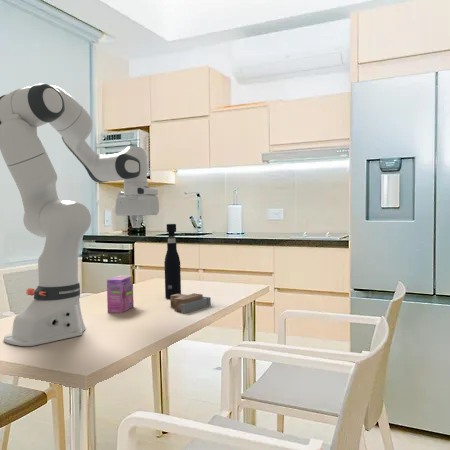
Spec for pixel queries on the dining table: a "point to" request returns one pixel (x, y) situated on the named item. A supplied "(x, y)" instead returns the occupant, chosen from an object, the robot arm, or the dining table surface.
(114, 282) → the box
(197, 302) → the corner fence
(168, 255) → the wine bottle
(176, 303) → the t block
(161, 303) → the dining table surface
